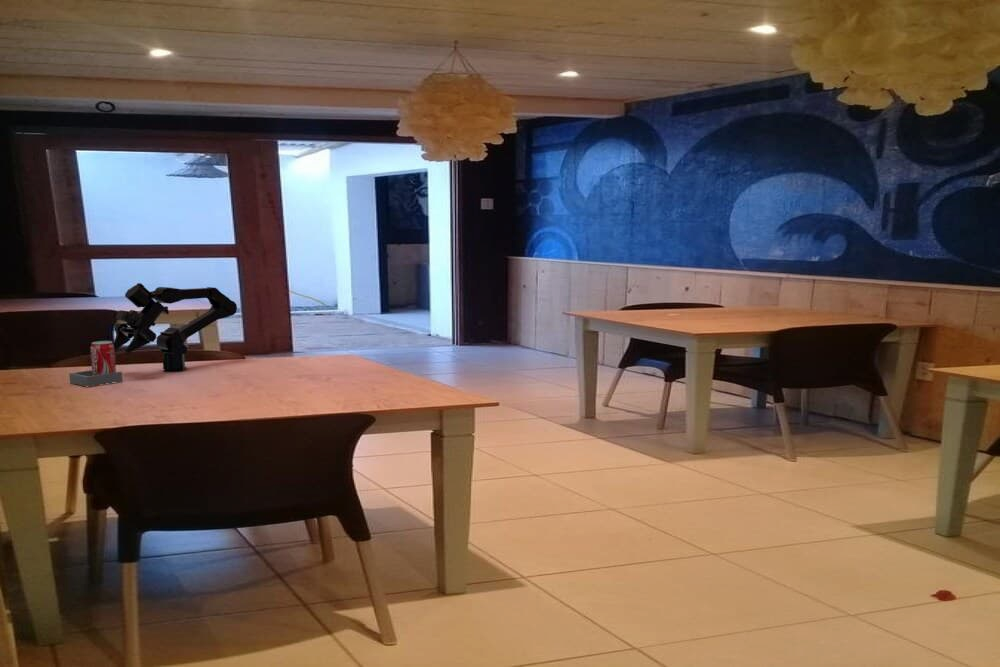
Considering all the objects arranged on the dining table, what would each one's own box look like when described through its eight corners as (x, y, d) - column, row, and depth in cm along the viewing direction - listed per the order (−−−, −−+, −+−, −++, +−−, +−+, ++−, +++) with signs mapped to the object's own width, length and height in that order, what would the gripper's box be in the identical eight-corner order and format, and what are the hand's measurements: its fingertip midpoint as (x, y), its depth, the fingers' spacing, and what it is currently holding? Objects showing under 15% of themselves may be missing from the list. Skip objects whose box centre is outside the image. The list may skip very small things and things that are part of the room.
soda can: (111, 377, 264) (109, 340, 262) (119, 380, 259) (117, 342, 257) (89, 380, 259) (86, 342, 257) (97, 383, 254) (94, 344, 252)
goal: (105, 377, 265) (104, 368, 265) (122, 381, 258) (121, 371, 258) (70, 383, 256) (69, 373, 256) (87, 387, 249) (86, 377, 249)
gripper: (117, 299, 270) (87, 334, 263) (145, 302, 259) (115, 339, 252) (140, 319, 277) (112, 354, 270) (168, 323, 266) (140, 359, 259)
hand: (119, 351), depth 263 cm, fingers open, 9 cm apart
